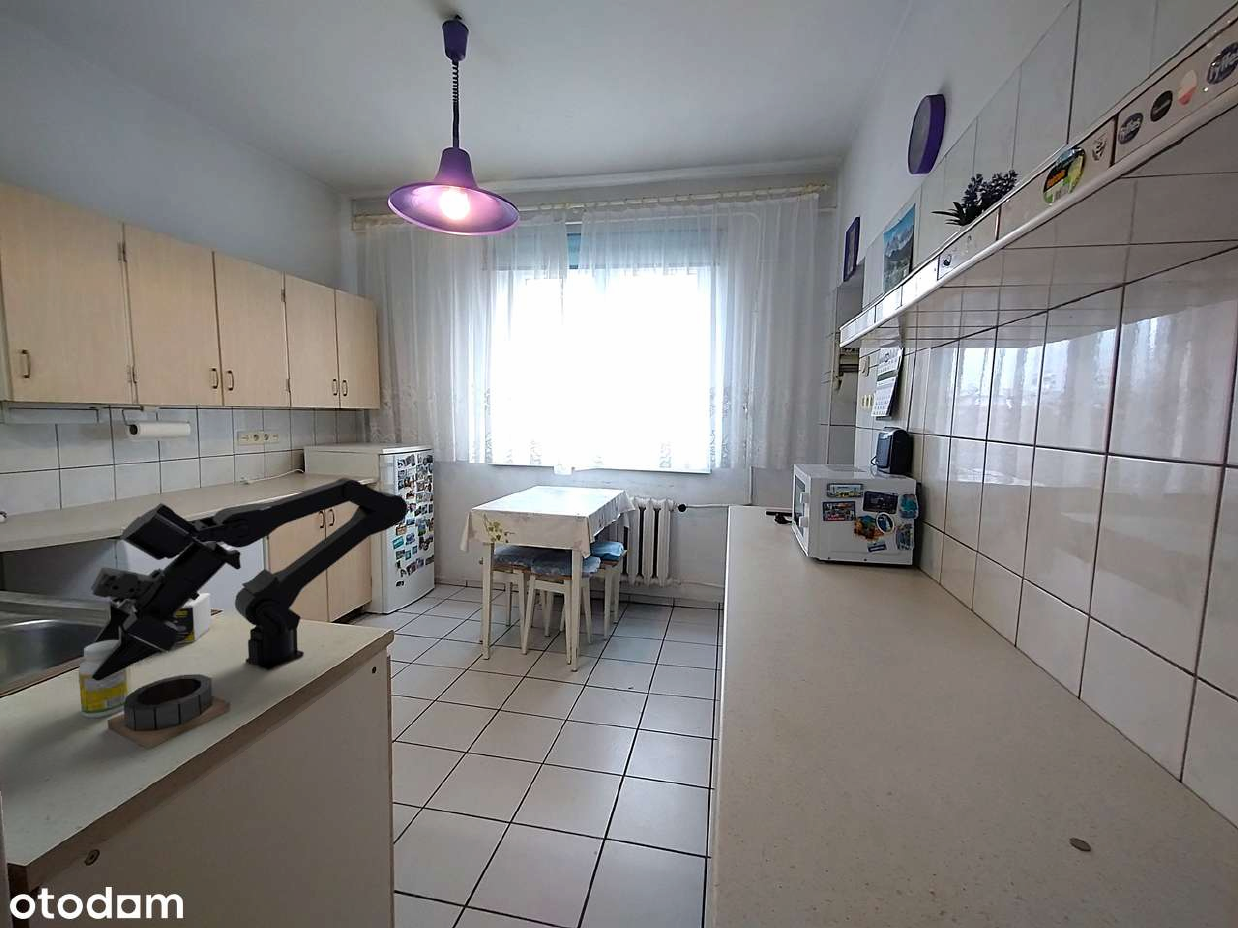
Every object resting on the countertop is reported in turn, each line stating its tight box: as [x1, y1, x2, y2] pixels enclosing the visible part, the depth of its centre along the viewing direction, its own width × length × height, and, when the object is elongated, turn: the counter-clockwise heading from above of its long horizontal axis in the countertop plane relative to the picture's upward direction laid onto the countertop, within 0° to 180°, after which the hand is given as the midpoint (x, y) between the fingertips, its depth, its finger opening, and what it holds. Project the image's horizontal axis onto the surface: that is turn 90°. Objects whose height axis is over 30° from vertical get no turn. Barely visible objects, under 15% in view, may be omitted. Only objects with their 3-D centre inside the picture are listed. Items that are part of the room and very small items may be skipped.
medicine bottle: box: [173, 590, 212, 644], centre depth 102 cm, size 7×7×12 cm
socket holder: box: [107, 673, 231, 750], centre depth 76 cm, size 10×10×4 cm
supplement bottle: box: [78, 640, 132, 719], centre depth 78 cm, size 5×5×10 cm
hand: (91, 667), depth 77 cm, fingers open, 9 cm apart
